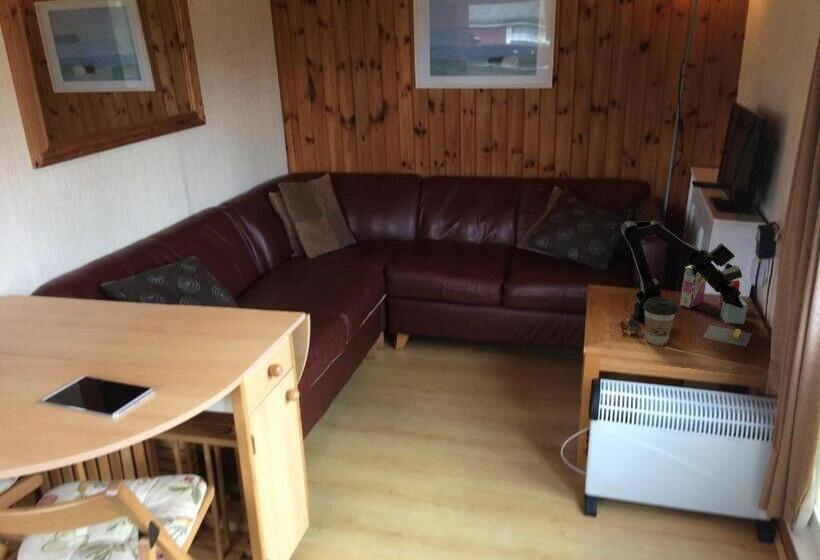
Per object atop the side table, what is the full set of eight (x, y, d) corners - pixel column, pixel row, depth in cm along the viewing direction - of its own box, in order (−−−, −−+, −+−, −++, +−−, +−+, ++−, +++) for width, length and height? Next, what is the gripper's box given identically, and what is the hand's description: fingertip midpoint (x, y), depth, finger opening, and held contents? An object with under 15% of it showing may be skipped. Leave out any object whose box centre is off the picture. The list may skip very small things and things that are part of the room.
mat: (702, 338, 230) (703, 331, 229) (709, 326, 239) (710, 319, 238) (745, 348, 222) (747, 340, 221) (751, 335, 231) (752, 327, 230)
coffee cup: (642, 347, 225) (646, 307, 220) (636, 333, 235) (641, 295, 230) (676, 348, 223) (682, 309, 218) (669, 334, 234) (674, 296, 228)
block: (725, 324, 240) (729, 304, 238) (720, 317, 246) (723, 298, 243) (743, 325, 240) (747, 305, 237) (737, 317, 246) (741, 298, 243)
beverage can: (737, 310, 252) (742, 281, 248) (720, 309, 253) (725, 280, 249) (733, 304, 258) (738, 276, 254) (716, 303, 259) (721, 275, 255)
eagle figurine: (615, 333, 233) (639, 335, 227) (618, 314, 235) (642, 316, 229) (623, 338, 239) (647, 340, 233) (626, 319, 240) (650, 321, 234)
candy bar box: (691, 309, 254) (696, 270, 248) (679, 305, 258) (684, 267, 252) (704, 301, 261) (709, 263, 255) (692, 298, 265) (697, 260, 259)
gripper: (738, 268, 226) (766, 298, 229) (721, 251, 243) (747, 279, 246) (712, 288, 230) (739, 318, 232) (696, 271, 247) (722, 298, 250)
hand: (737, 302), depth 240 cm, fingers open, 9 cm apart
